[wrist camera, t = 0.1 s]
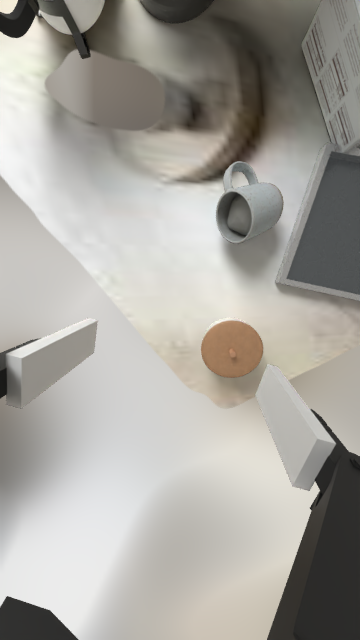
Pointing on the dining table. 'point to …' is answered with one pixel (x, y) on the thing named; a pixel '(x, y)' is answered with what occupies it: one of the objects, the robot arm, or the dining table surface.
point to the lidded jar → (231, 347)
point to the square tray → (327, 228)
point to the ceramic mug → (247, 206)
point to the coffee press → (54, 18)
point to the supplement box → (336, 67)
